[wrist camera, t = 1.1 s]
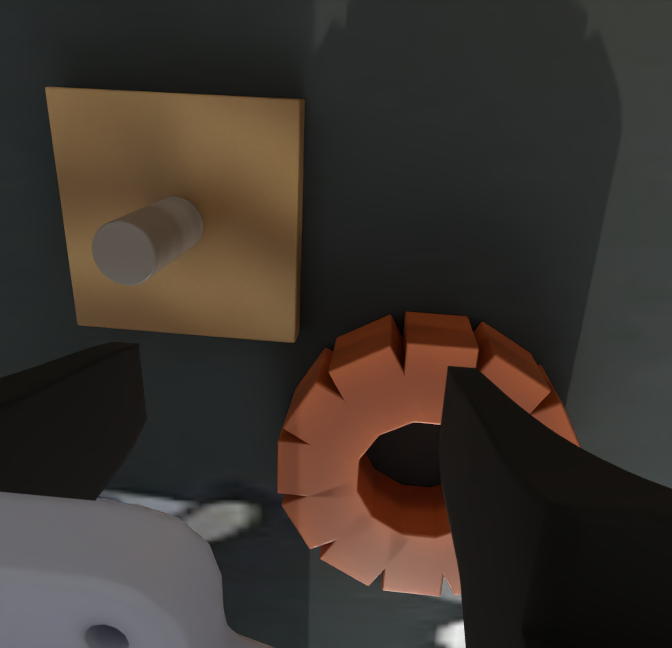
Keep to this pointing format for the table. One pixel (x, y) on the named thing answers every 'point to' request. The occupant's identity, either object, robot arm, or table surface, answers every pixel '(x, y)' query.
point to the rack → (182, 210)
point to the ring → (381, 417)
